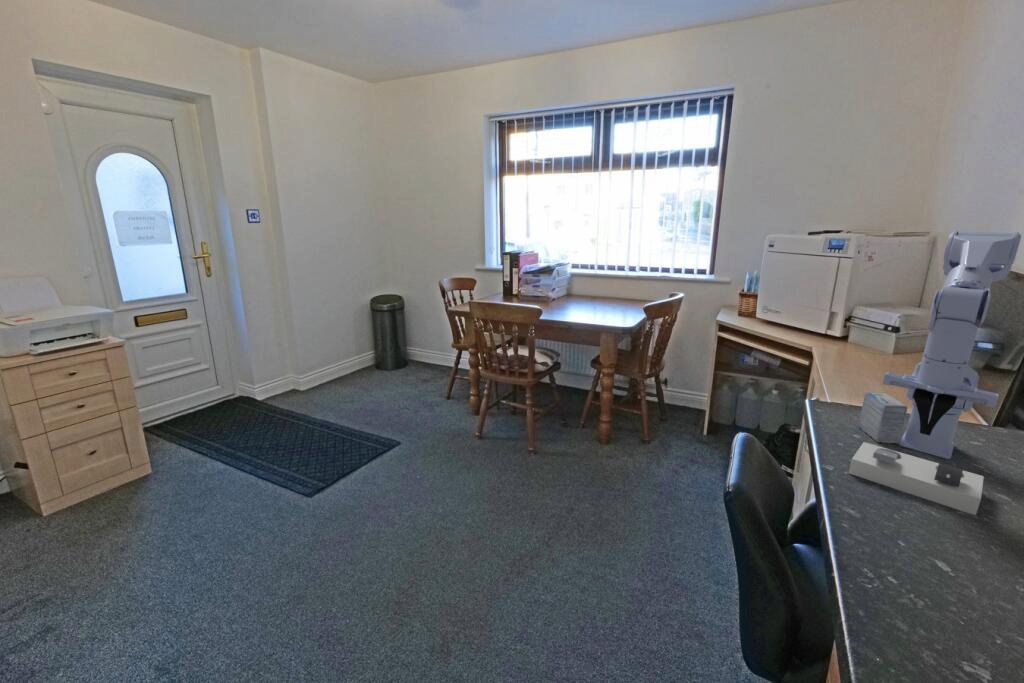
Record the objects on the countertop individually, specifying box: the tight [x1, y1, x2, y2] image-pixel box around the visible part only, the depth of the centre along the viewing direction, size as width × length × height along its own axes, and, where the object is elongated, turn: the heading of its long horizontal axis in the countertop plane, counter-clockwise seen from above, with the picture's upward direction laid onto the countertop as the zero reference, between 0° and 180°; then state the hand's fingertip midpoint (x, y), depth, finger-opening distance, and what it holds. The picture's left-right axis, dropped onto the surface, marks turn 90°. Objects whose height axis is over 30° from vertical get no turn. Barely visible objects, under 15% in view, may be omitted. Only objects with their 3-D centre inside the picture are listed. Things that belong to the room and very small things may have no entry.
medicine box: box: [857, 392, 908, 445], centre depth 101 cm, size 8×4×9 cm, turn 168°
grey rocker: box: [873, 449, 898, 464], centre depth 84 cm, size 4×3×1 cm
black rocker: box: [934, 462, 964, 487], centre depth 78 cm, size 4×3×1 cm
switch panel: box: [848, 441, 984, 516], centre depth 83 cm, size 10×17×3 cm, turn 44°
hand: (925, 432), depth 82 cm, fingers closed
